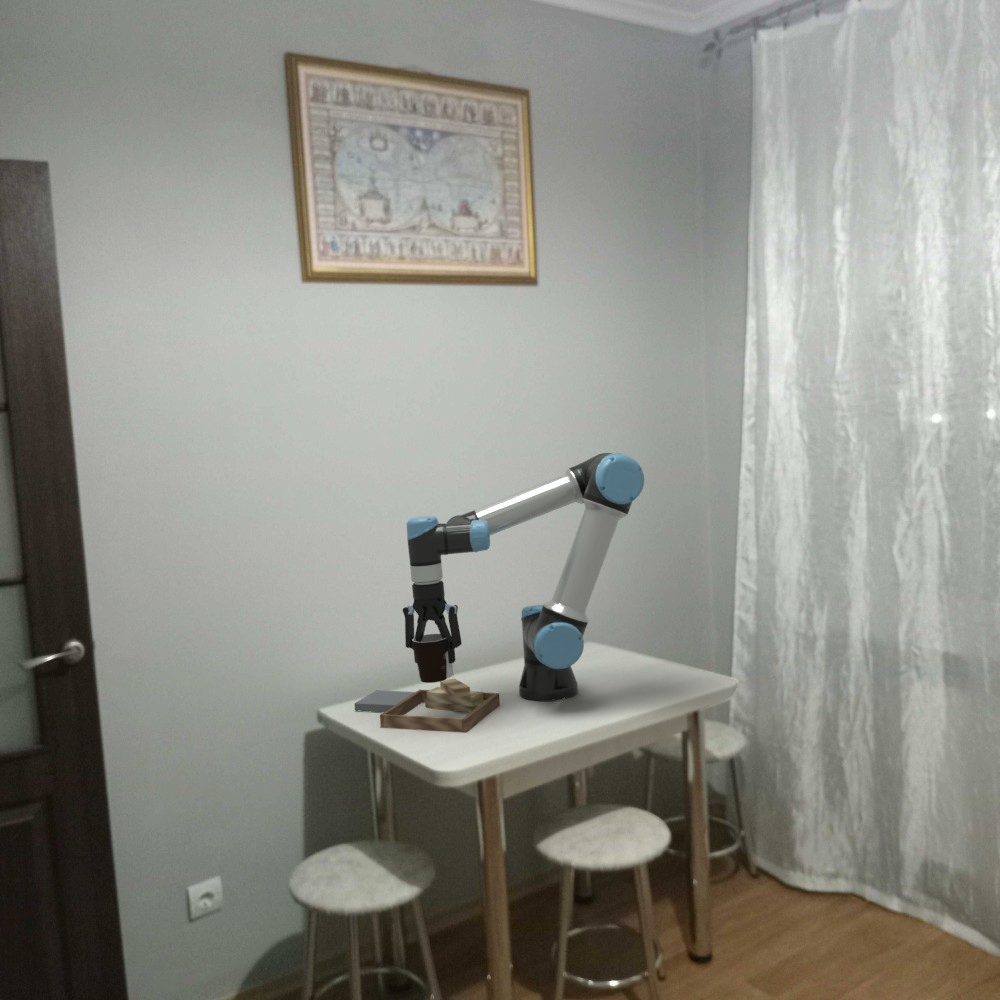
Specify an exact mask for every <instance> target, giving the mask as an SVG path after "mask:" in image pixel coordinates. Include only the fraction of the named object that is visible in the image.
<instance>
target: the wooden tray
mask: <svg viewBox="0 0 1000 1000" xmlns="http://www.w3.org/2000/svg"><path fill="white" fill-rule="evenodd" d="M429 690H430V689H418V690H416V691H414V692H415V693H413V694H412V695H410V696H409V697H407V698H406V699H404V700H402V701H401V702H399V703H398V704H396V705H395V706H393V707H391V708H390V709H388V710H387V711H385V712H384V713H380V715H379V722H380V728H384V727H385V728H387V729H388V728H389V729H405V730H418V729H421V730H423V731H436V732H437V731H439V732H454V733H467V732H469V731H470V730H471V729H472V728H474V727H475V726H476V725H477V724H478V723H480V722H481V721H482V720H483V719H484V718H486V717H487V716H489V714H491V713H492V712H493V711H494V710H495V709H496V708H498V707H499V706H500V703H501V702H500V701H501V700H500V692H484V691H482V692H483V700H486V701H484V702H483V703H482V704H480V705H479V706H478V707H477V708H475V709H474V710H473V711H471V712H468V713H467V714H466V715H465V716H464V717H461V718H459V717H444V716H443V717H442V716H424V715H408V714H407V713H408V712H410V711H411V710H413V709H414V708H416V707H418V706H419V705H420V704H422V703H425V701H426V700H427V691H429ZM421 702H422V703H421ZM418 704H419V705H418ZM406 714H407V715H406ZM385 728H384V729H385Z"/></svg>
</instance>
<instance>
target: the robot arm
mask: <svg viewBox="0 0 1000 1000" xmlns="http://www.w3.org/2000/svg"><path fill="white" fill-rule="evenodd" d="M644 485H645V475H644V470H643V468H642V467H641V465H640V464H639V462H638V461H637V460H635V459H634V458H633V457H631V456H628V455H627V454H623V453H620V452H619V453H618V452H616V453H615V452H614V453H611V452H603V453H602V452H601V453H599V454H597V455H595V456H592V457H590V458H588V459H586V460H585V461H583V462H580V463H578V464H576V465H574V466H572V467H569V468H567V469H566V470H565V473H564V474H562V475H559V476H557V477H555V478H551V479H549V480H548V481H545V482H542V483H539V484H536V485H534V486H532V487H530V488H526V489H524V490H521V491H520V492H517V493H514V494H512V495H509V496H506V497H504V498H502V499H498V500H495V501H494V502H491V503H489V504H486V505H483V506H481V507H478V508H476V509H474V510H472V511H469V512H466V513H463V514H458V515H454V516H451V517H450V518H449V519H448V520H447V522H446V523H441V522H440V523H439V520H438V518H437V516H435V515H426V516H417V517H412V518H410V519H408V521H407V522H406V534H407V535H406V536H407V537H406V538H407V548H408V555H409V565H410V579H411V582H412V584H411V587H412V588H411V589H412V599H413V603H412V605H407V606H404V607H403V608H402V613H403V615H404V629H405V630H404V631H405V632H404V634H405V635H404V637H405V647H406V648H407V649H412V650H413V655H414V656H413V657H414V658H413V659H414V663H415V664H417V661H416V656H415V651H414V647H413V642H412V639H413V638H415V639H416V642H421V641H422V639H423V636H424V635H425V631H426V626H427V622H428V621H433V622H434V624H435V625H436V627H437V629H438V632H439V634H441V636H442V639H444V638H447V649H446V651H447V669H446V678H447V679H451V677H453V676H454V666H453V664H454V663H455V662H456V652H455V649H457V648H459V647H460V646H462V638H461V637H462V636H461V632H460V626H459V625H460V624H459V618H458V610H459V607H458V605H456V604H455V605H451V604H448V603H447V601H446V600H445V597H446V596H445V595H446V594H445V586H444V582H443V580H442V579H443V578H444V575H443V565H442V556H443V555H444V556H446V555H454V554H456V555H457V554H466V553H478V552H483V551H488V549H490V547H491V536H492V535H495V534H498V533H500V532H503V531H505V530H507V529H511V528H512V527H516V526H518V525H520V524H523V523H526V522H528V521H531V520H533V519H536V518H538V517H541V516H543V515H546V514H548V513H551V512H553V511H557V510H559V509H561V508H564V507H566V506H568V505H571V504H574V503H577V504H580V505H582V504H584V508H585V509H584V512H583V514H582V517H581V520H580V522H579V526H578V528H577V531H576V533H575V536H574V539H573V541H572V544H571V548H569V549H570V550H569V552H568V555H567V557H566V560H565V564H564V566H563V567H562V568H563V569H562V571H561V574H560V577H559V579H558V582H557V585H556V588H555V591H554V593H553V596H552V597H551V598H552V599H551V600H549V601H547V602H544V603H543V604H536V605H528V606H525V607H523V608H522V610H521V618H520V620H521V629H522V644H523V661H524V665H523V668H522V673H521V676H520V681H519V684H518V691H519V696H520V697H522V698H523V699H526V700H531V701H538V702H539V701H541V702H542V701H543V702H545V701H547V702H548V701H557V700H558V701H559V700H563V699H567V698H572V697H573V696H575V695H576V694H578V691H579V688H578V686H579V685H578V682H577V677H576V676H575V674H574V671H573V667H572V666H573V665H574V664H576V663H577V662H578V661H579V659H580V658H581V656H582V654H583V652H584V648H585V647H584V646H585V645H584V644H585V643H584V634H585V631H586V629H587V627H588V623H589V618H588V616H587V613H586V611H587V607H588V605H589V602H590V600H591V597H592V594H593V592H594V589H595V587H596V583H597V580H598V578H599V575H600V572H601V570H602V567H603V565H604V561H605V559H606V557H607V554H608V550H609V547H610V546H611V542H612V540H613V537H614V534H615V532H616V528H617V527H618V524H619V521H620V520H621V519H623V518H625V517H627V516H628V515H629V512H630V509H631V507H632V503H633V501H635V500H636V499H637V498H638V497H639V496H640V495H641V493H642V492H643V488H644ZM445 610H446V614H447V615H448V624H449V628H448V625H447V622H446V617H445V614H444V612H445ZM415 612H416V614H417V615H418V616H417V621H416V622H417V626H416V630H415V616H414V613H415ZM418 677H419V678H420V674H419V673H418Z"/></svg>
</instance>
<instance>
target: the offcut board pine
mask: <svg viewBox="0 0 1000 1000" xmlns="http://www.w3.org/2000/svg"><path fill="white" fill-rule="evenodd" d="M428 690H429V691H427V701H432V702H439V703H447V704H455V705H463V706H471V707H474V706H476V705H478V704H480V703H482V702H484V701H483V692H484V691H476V690H470V695H468V696H462V697H457V698H455V697H453V696H451V695H450V694H448V693H447V692H445V691H443V690H442V689H441V687H440V686H436V687H434V688H432V689H428Z"/></svg>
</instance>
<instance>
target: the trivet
mask: <svg viewBox="0 0 1000 1000" xmlns="http://www.w3.org/2000/svg"><path fill="white" fill-rule="evenodd" d="M415 692H416V691H400V690H399V691H397V690H396V691H395V690H375V691H373V692H371V693H370V694H367V695H366V696H365V697H363V698H361V699H359V700H358V701H356V702H355V703H353V704H354V711H355V710H361V711H360V712H363V711H371V712H370V713H381V712H385V711H387V710H388V709H390V708H391V707H393V706H395V705H396V704H398V703H399V702H401V701H402V700H404V699H406V698H407V697H409V696H410V695H412V694H413V693H415Z"/></svg>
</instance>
